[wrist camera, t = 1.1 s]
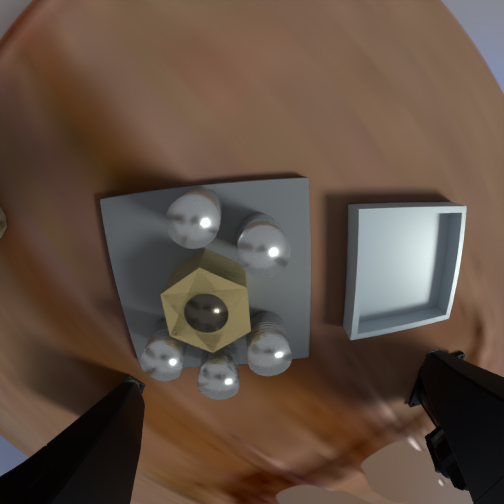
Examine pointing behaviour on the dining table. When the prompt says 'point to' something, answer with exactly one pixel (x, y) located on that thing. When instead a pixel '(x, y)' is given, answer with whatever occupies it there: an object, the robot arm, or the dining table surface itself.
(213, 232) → the spacer posts
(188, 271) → the brass nut
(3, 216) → the urn
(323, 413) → the dining table surface
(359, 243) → the tray
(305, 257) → the spacer board
